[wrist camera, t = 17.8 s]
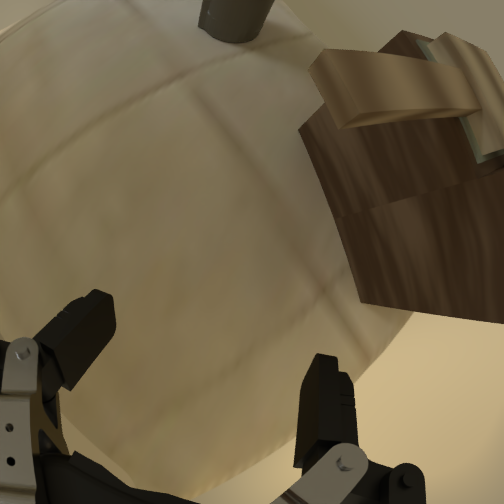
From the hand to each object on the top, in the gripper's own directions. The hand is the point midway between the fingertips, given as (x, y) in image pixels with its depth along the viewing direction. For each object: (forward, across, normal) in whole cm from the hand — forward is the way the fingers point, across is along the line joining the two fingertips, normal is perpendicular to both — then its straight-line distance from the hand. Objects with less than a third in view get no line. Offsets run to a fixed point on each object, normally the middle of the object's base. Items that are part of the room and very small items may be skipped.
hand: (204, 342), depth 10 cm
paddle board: (+13, -12, -14) cm, 22 cm away
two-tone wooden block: (+33, -13, 0) cm, 35 cm away
